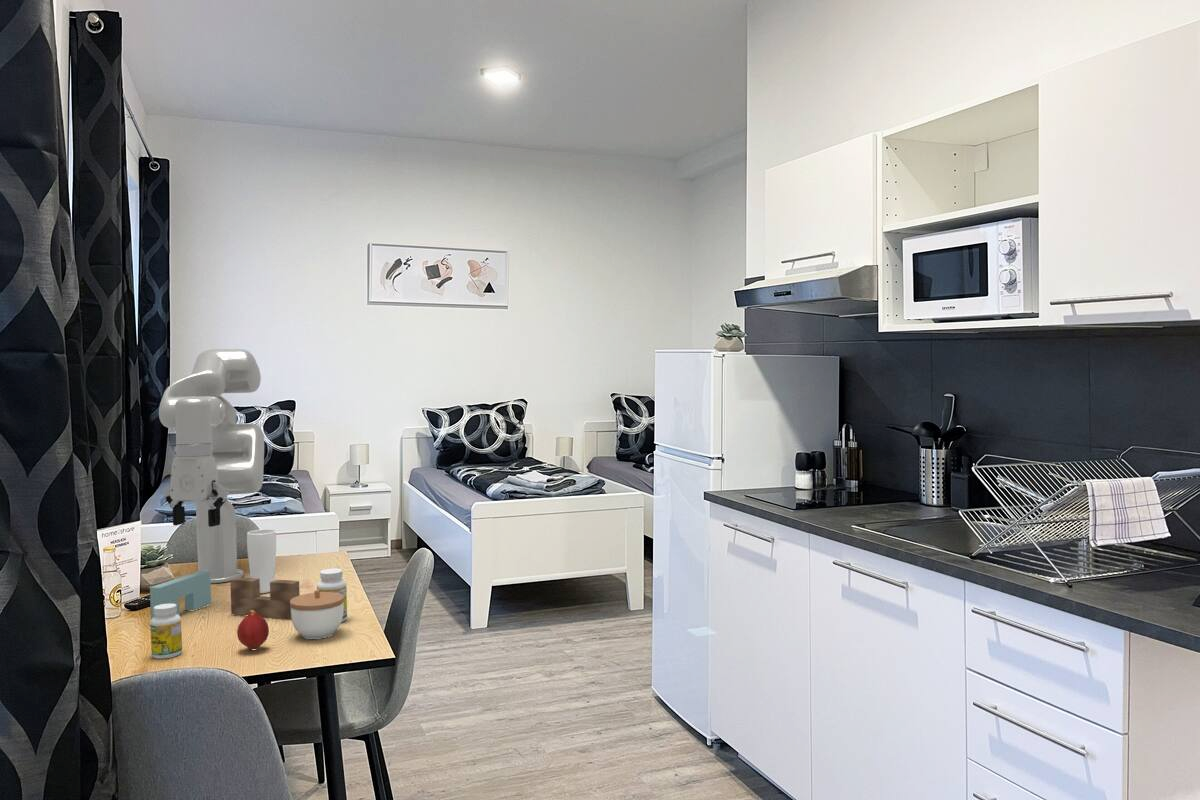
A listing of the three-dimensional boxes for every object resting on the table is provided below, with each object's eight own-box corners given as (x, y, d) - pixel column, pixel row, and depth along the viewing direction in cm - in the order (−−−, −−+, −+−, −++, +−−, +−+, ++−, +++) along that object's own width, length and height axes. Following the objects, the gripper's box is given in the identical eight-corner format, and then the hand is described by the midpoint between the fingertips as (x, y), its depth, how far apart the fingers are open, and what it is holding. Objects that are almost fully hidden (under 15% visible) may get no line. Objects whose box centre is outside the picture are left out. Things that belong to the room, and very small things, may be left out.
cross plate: (160, 624, 192) (159, 587, 191) (151, 623, 192) (149, 587, 192) (211, 604, 207) (210, 570, 207) (202, 604, 208) (201, 570, 207)
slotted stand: (231, 615, 198) (230, 579, 198) (238, 612, 201) (237, 577, 200) (293, 619, 194) (292, 583, 194) (300, 616, 196) (299, 580, 196)
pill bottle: (319, 617, 195) (318, 568, 195) (348, 615, 196) (347, 566, 196) (316, 625, 189) (314, 574, 189) (346, 623, 190) (344, 573, 190)
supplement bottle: (188, 651, 173) (186, 603, 173) (167, 660, 168) (165, 610, 167) (166, 649, 175) (164, 601, 174) (144, 658, 169) (143, 608, 169)
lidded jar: (299, 628, 188) (297, 584, 187) (350, 626, 188) (349, 583, 188) (284, 644, 177) (282, 598, 176) (338, 642, 177) (337, 596, 177)
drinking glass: (267, 595, 215) (265, 534, 214) (242, 594, 216) (240, 533, 215) (282, 588, 221) (281, 529, 221) (258, 587, 223) (256, 528, 222)
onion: (243, 645, 176) (242, 606, 176) (272, 644, 177) (271, 605, 176) (233, 655, 170) (232, 614, 170) (264, 654, 171) (263, 613, 170)
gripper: (151, 452, 202) (153, 526, 203) (215, 453, 198) (217, 529, 198) (174, 449, 209) (177, 521, 210) (237, 450, 205) (239, 523, 205)
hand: (196, 525), depth 204 cm, fingers open, 9 cm apart
